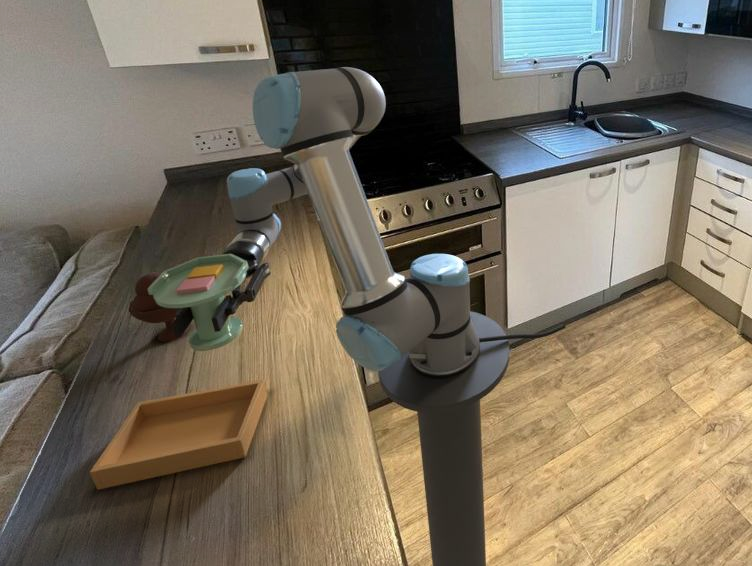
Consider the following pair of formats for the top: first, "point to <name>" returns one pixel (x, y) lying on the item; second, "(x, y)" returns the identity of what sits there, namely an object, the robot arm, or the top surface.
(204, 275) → the sachet
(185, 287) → the sachet
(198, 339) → the green pedestal stand
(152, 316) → the ice cream bowl
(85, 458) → the top surface
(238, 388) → the box
